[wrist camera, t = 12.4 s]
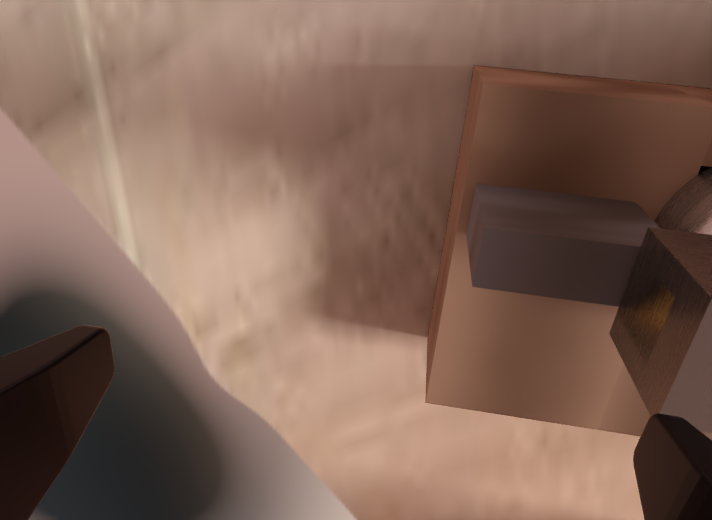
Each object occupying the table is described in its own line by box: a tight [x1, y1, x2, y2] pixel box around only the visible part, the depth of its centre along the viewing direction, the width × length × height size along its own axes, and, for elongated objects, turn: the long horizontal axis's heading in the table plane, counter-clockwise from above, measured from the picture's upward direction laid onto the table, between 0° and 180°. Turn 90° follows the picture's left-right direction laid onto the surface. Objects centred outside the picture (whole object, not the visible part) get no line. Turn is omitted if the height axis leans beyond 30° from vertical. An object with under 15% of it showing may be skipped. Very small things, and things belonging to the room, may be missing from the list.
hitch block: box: [425, 65, 712, 440], centre depth 16 cm, size 12×11×7 cm
